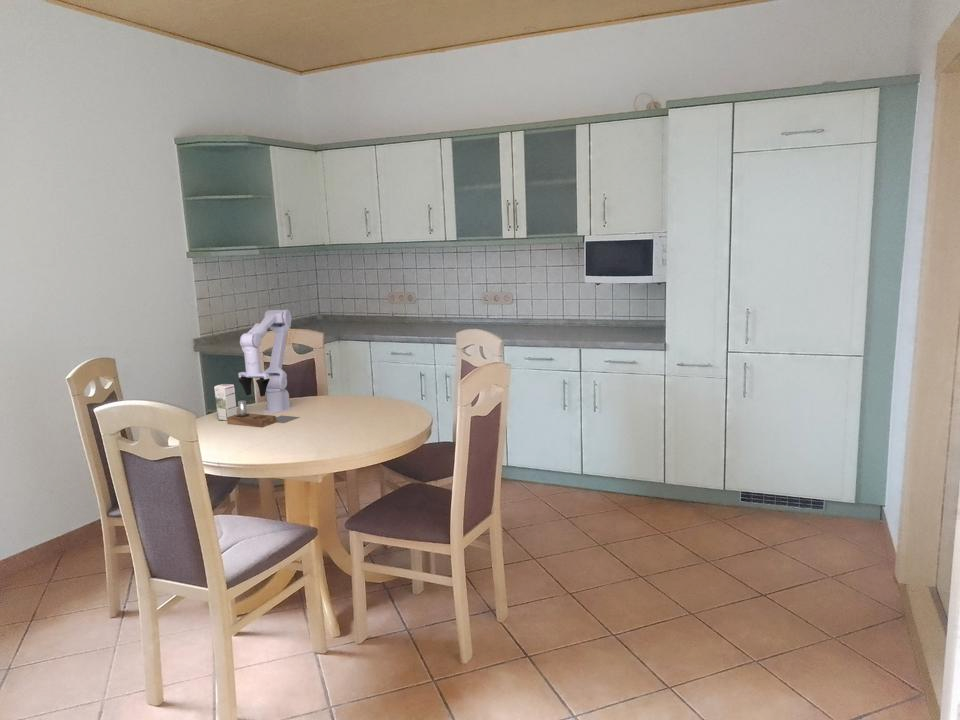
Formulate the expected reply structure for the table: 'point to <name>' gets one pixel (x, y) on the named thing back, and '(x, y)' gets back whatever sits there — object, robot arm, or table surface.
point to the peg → (242, 408)
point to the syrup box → (225, 401)
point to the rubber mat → (285, 419)
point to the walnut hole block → (252, 420)
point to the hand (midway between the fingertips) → (255, 395)
